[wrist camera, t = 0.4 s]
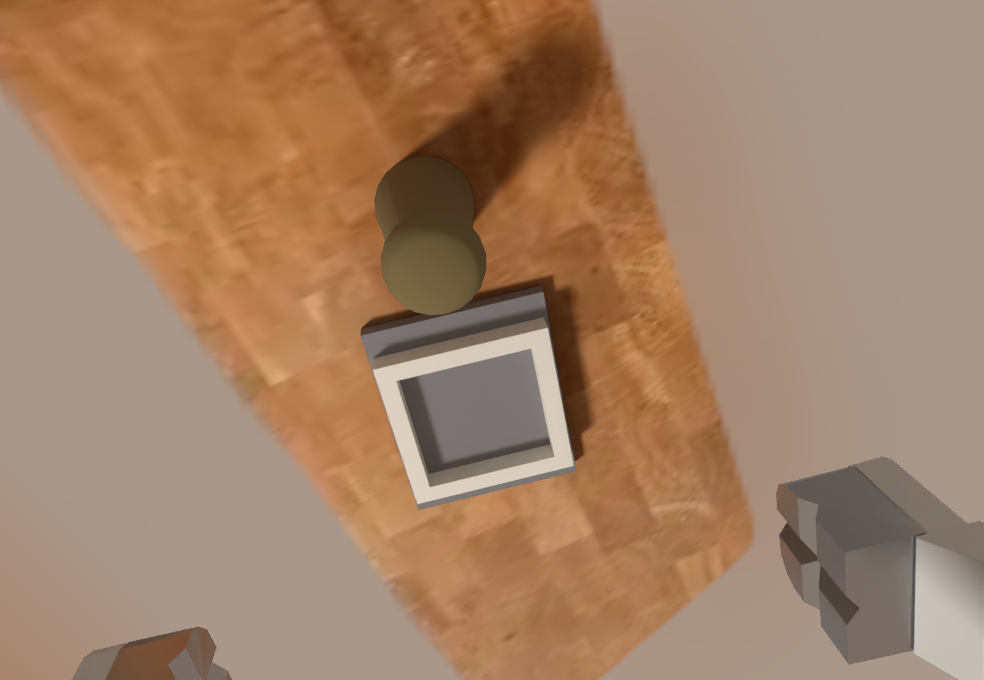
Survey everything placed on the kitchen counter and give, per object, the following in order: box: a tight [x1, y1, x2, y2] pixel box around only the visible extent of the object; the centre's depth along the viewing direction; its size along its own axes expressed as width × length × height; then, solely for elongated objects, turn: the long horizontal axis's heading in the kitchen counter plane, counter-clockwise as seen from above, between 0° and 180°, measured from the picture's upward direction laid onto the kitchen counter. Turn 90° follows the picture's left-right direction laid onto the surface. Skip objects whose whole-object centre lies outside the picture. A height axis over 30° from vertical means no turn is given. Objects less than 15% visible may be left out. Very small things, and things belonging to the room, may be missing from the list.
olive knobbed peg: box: [375, 156, 486, 315], centre depth 40 cm, size 6×6×11 cm
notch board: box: [361, 286, 576, 510], centre depth 50 cm, size 15×12×2 cm
